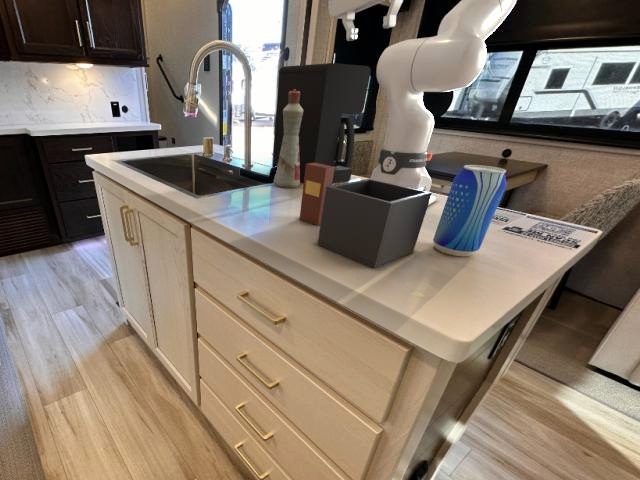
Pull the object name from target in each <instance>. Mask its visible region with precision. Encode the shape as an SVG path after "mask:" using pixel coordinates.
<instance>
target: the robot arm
mask: <svg viewBox="0 0 640 480" xmlns="http://www.w3.org/2000/svg"><path fill="white" fill-rule="evenodd" d="M385 1H386V0H327V6H328V8H327V9H328V14H329V16H330V18H331V19H333V20H334V19H335V20H336V19H338V20H339V19H341V21H342V24H343V27H344V29H345V31H346V41H347V42H351V41H355V40H357V39H358V36H359V35H358V32H359V28H356V27H355V25H354V24H355V23H354V20H355V16H356V13H359V12H361V11H363V10H367V9H368V8H372V7H373V6H376V5H379V4H380V3H384V2H385ZM517 1H518V0H460V1H459V2H458V3H457V4H456V5H455V6H454V7H453V8H452V9H451V10H450V11H449V12H448V13H447V14H445V15H444V16H443V18H442V19H441V21H440V24H439V27H438V29H437V35H434V36H430V37H421V38H411V39H405V40H403V41H399V42H397V43H394V44H392V45H389V46H387V47H386V48H385V49H384V51H383V52H382V53H381V55H380V57H379V59H378V60H377V64H376V71H375V75H376V79H377V83H378V85H379V86H380V87H381V89H382V90H383V92H384V95H385V97H386V101H387V108H388V119H387V126H386V131H385V132H386V133H385V137H384V142H383V147H382V148H381V149H380V152H379V154H378V161H377V162H378V165H377V166H376V167H374V169H373V170H372V173H371V176H370V179H372V180H377V181H381V182H386V183H391V184H395V185H400V186H404V187H409V188H413V189H418V190H423V191H427V192H431V191H430V190H431V187H432V184H433V183H432V181H433V180H432V179H431V176H430V175H429V173H428V171H427V169H426V166H427V161H429V162H430V161H431V159H432V157H433V153H432V152H427V151H428V150H427V149H428V147H429V143H430V140H431V136H432V133H433V129H434V126H435V119H434V116H433V114H432V113H431V112H430V111H429V110H428V109H426V107H425V105H424V101H423V99H424V97H423V96H424V92H425V93H426V92H427V93H445V92H451V91H456V90H461V89H465V88H468V87H469V86H470V85H471V84H473V83H474V82H475V81H476V79H477V78H478V76H479V75H480V74H481V72H482V70H483V68H484V66H485V63H486V60H487V48H486V47H487V45H486V43H485V40H486V39H487V38H488V37H489V36H490V35H492V34H493V32H495V31H496V29H498V27H499V26H500V25H501V24H502V23H503V21H505V19H506V18H507V16H508V15H509V14H510V13H511V11H512V9H513V8H514V7H515V5H516V4H517ZM403 2H404V0H388V3H390V5H389V8H388V11H387V13H386V15H385V16H382V17H383V20H382V22H383V23H382V28H383V29H390V28H393V27H395V26H396V25H397V24H396V23H397V14H398V12H399V10H400V9H401V6H402V4H403ZM359 180H361V178H356V179H350V181H348V182H354V181H359ZM436 200H437V197H435V196H433V195H431V198H430V201H429V204H428V206H430V205H431V204H434V203H435V202H436Z"/></svg>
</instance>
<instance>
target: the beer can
mask: <svg viewBox="0 0 640 480" xmlns="http://www.w3.org/2000/svg"><path fill="white" fill-rule="evenodd" d="M506 173H507V170H506V169H505V168H502V167H498V166H493V165H492V166H491V165H483V164H482V165H481V164H465V165H463V169H462V170H461V171H459V173H458V174H457V175H455V176H454V178H453V179H452V183H451V186H450V189H449V192H448V195H447V198H446V202H445V204H444V207H443V209H442V213H441V216H440V219H439V221H438V223H437V227H436V230H435V232H434V235H433V238H432V241H433V244H434V247H435V249H436V250H437V251H438V252H441V253H444V254H447V255H449V256H454V257H470V256H472V255H474V253H476V252H477V251H479V250H480V248H481V246H482V245H483V242H484V239H485V237H486V235H487V232H488V230H489V228H490V225H491V223H492V221H493V218H494V216H495V213H496V211H497V209H498V206H499V204H500V202H501V200H502V197H503V195H504V192H505V190H506V188H507V185H508V183H507V179H506Z"/></svg>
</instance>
